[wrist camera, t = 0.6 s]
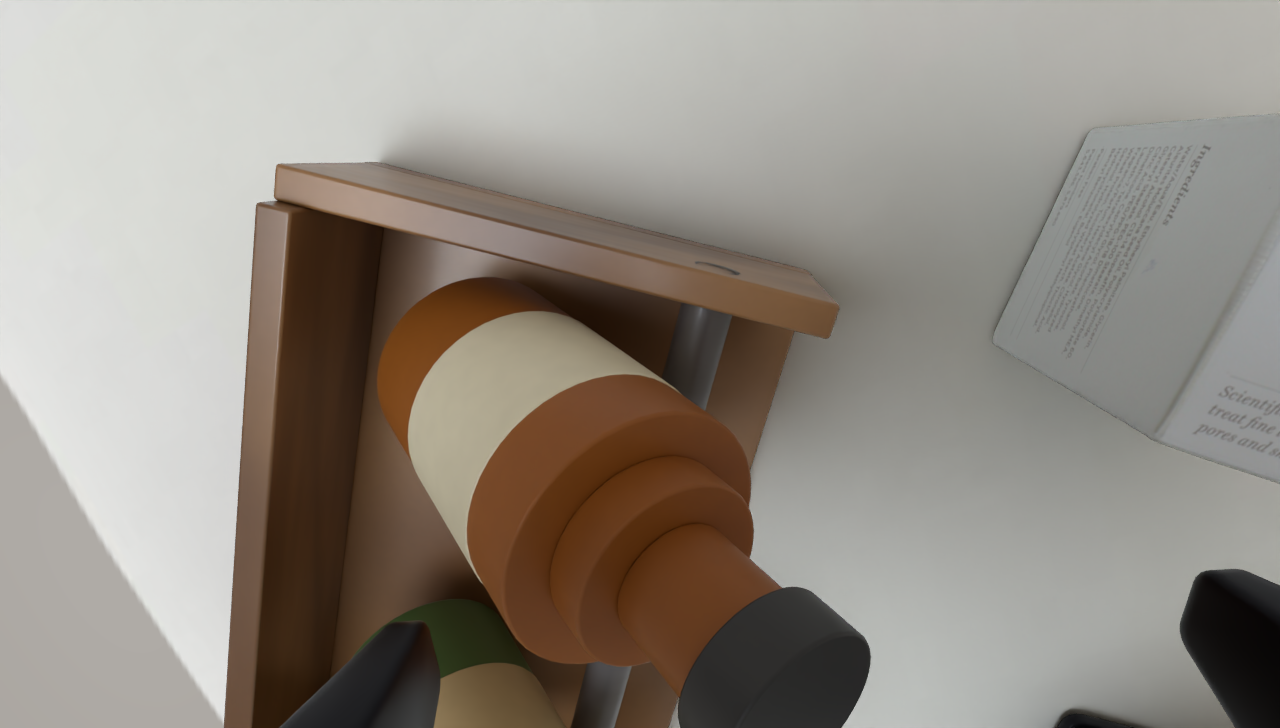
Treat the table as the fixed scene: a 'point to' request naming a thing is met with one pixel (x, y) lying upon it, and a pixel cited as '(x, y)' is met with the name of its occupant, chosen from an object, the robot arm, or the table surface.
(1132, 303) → the white cardboard box
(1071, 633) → the table surface
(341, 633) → the rack
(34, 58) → the table surface
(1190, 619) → the robot arm
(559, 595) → the amber bottle
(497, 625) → the green bottle
